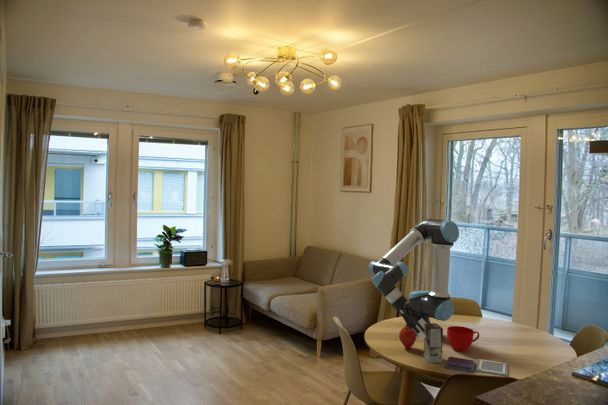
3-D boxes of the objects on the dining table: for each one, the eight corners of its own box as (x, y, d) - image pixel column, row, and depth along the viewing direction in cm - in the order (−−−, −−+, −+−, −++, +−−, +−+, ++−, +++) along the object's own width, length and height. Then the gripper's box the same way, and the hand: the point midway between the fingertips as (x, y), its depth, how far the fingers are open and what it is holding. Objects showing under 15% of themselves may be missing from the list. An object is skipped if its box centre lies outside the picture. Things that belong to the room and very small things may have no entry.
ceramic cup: (485, 352, 237) (486, 333, 237) (453, 354, 234) (454, 334, 234) (472, 344, 250) (472, 325, 250) (442, 345, 247) (442, 326, 247)
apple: (397, 349, 239) (398, 328, 239) (400, 344, 247) (401, 323, 247) (414, 352, 236) (415, 330, 236) (417, 346, 244) (417, 325, 244)
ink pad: (445, 368, 216) (445, 364, 216) (448, 359, 227) (448, 355, 227) (473, 372, 211) (473, 368, 211) (475, 363, 222) (475, 359, 222)
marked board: (475, 371, 213) (476, 369, 213) (478, 360, 227) (478, 358, 227) (507, 376, 208) (507, 374, 208) (507, 364, 221) (507, 363, 221)
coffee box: (442, 362, 222) (443, 328, 222) (429, 362, 222) (430, 328, 221) (435, 355, 232) (436, 323, 231) (422, 355, 231) (423, 323, 231)
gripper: (396, 299, 221) (428, 336, 215) (407, 289, 243) (436, 322, 238) (384, 309, 223) (415, 346, 217) (396, 298, 246) (425, 331, 240)
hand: (426, 334), depth 227 cm, fingers open, 13 cm apart
